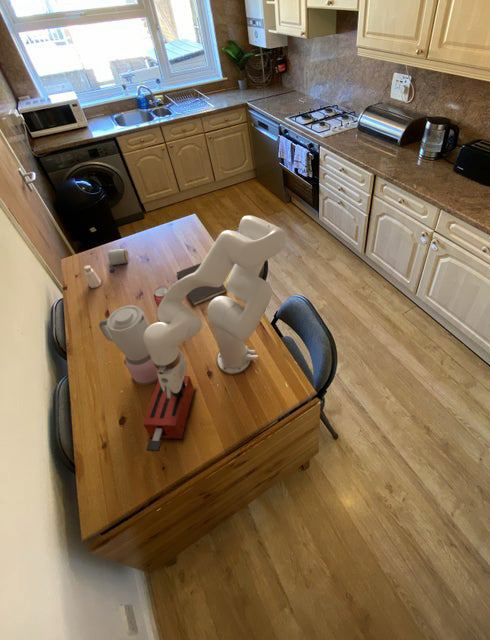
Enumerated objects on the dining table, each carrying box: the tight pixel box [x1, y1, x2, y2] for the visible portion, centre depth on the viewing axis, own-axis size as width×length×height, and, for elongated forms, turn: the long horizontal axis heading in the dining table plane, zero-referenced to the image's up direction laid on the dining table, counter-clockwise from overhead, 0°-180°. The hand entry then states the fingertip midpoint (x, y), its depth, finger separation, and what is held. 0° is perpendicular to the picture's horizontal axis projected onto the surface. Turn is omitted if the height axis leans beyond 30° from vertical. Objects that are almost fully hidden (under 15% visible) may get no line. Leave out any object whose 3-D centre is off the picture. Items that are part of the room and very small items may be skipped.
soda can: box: [153, 285, 170, 308], centre depth 146 cm, size 7×7×12 cm
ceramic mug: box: [107, 248, 130, 266], centre depth 175 cm, size 11×8×8 cm
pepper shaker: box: [83, 264, 102, 289], centre depth 160 cm, size 5×5×11 cm
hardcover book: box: [176, 262, 228, 307], centre depth 161 cm, size 16×23×2 cm
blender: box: [98, 304, 158, 386], centre depth 117 cm, size 16×12×32 cm
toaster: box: [142, 375, 196, 441], centre depth 111 cm, size 10×16×10 cm, turn 177°
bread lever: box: [145, 428, 163, 452], centre depth 100 cm, size 4×6×1 cm, turn 178°
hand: (179, 390), depth 110 cm, fingers closed
